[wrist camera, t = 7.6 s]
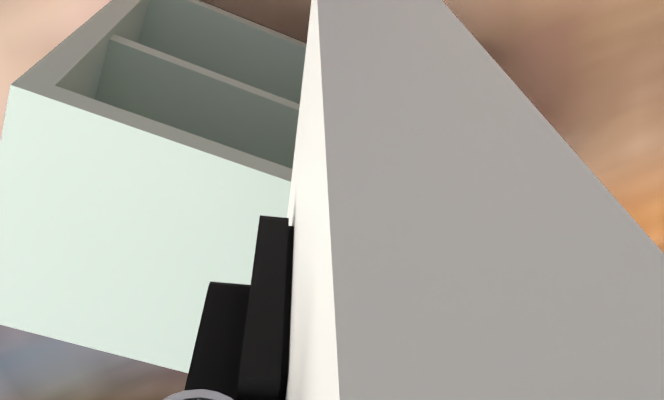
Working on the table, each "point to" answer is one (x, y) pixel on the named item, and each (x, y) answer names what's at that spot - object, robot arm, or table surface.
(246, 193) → the cabinet
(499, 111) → the door
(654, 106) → the table surface
